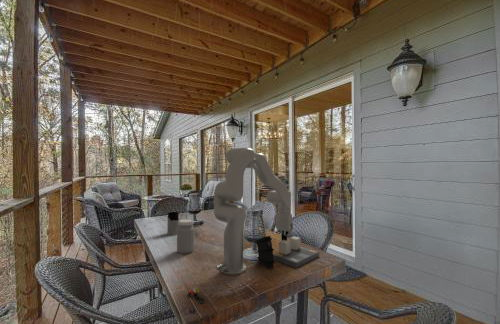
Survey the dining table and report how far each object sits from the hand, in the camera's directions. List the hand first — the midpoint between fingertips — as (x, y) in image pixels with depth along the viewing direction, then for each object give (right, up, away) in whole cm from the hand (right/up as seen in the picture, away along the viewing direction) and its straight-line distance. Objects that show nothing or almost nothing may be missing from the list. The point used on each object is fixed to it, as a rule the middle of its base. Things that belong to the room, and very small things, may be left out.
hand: (284, 241), depth 149 cm
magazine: (-13, -5, -21) cm, 25 cm away
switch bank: (+5, -5, -12) cm, 14 cm away
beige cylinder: (+5, -2, -6) cm, 8 cm away
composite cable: (-41, -5, -54) cm, 68 cm away
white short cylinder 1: (-1, -2, -13) cm, 13 cm away
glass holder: (-74, -5, +34) cm, 82 cm away
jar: (-58, -5, -4) cm, 58 cm away
